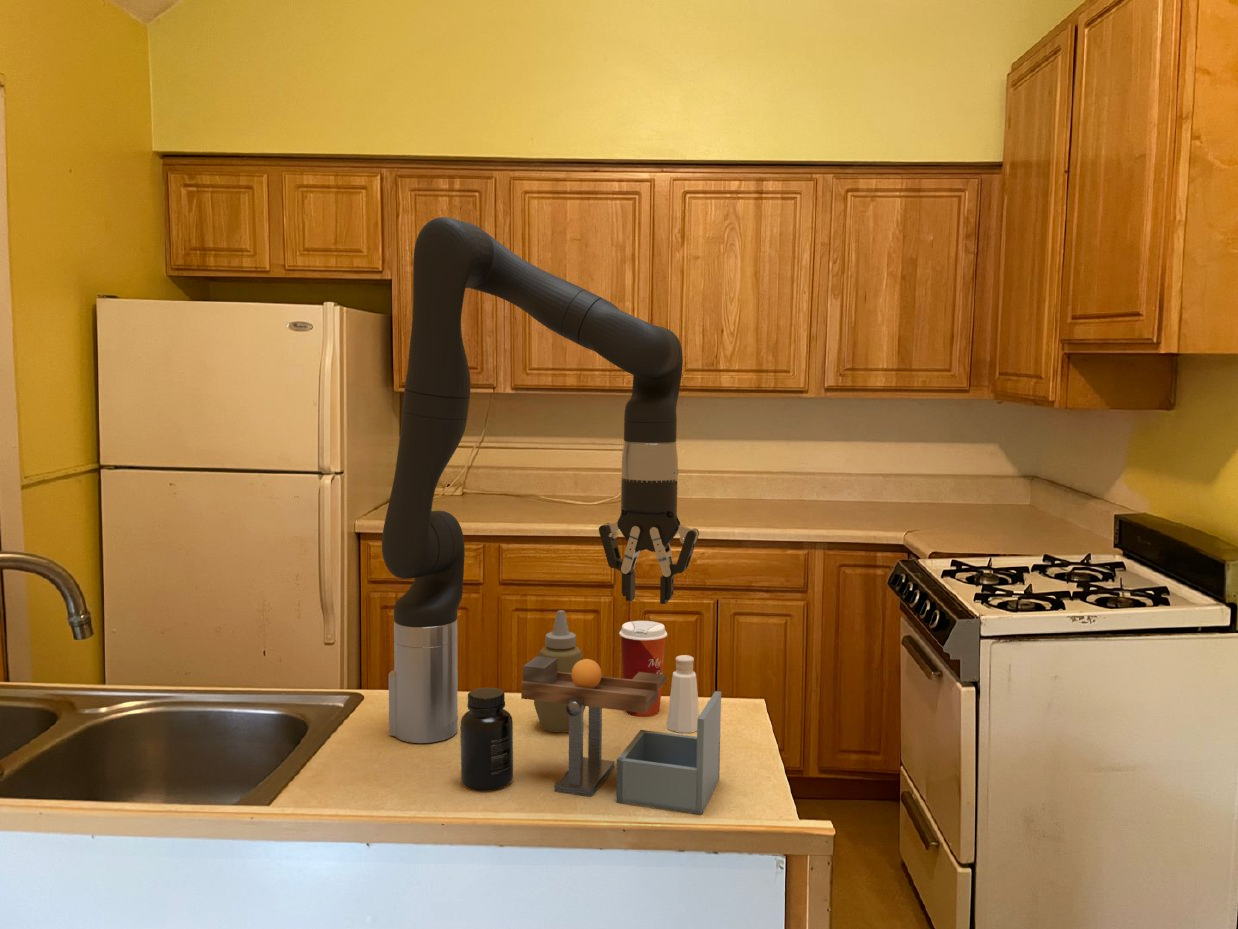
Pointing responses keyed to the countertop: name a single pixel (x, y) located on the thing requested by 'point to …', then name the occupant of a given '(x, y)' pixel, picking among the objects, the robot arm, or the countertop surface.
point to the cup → (673, 766)
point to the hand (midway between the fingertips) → (647, 600)
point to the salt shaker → (683, 697)
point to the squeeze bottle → (567, 656)
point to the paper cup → (643, 654)
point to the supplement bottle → (486, 741)
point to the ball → (586, 674)
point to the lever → (608, 694)
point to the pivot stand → (582, 770)
